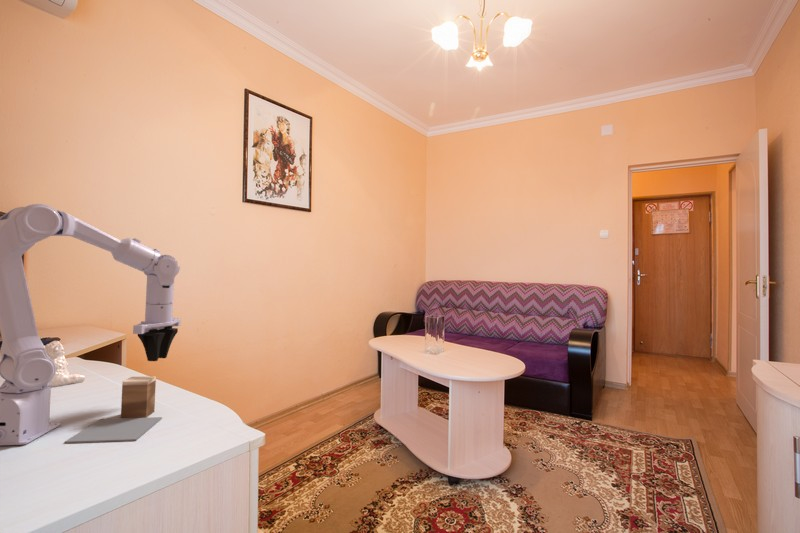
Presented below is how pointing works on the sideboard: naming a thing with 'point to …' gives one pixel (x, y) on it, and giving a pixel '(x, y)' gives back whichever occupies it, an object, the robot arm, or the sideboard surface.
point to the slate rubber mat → (115, 430)
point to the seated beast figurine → (61, 366)
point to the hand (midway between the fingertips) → (157, 359)
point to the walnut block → (138, 397)
